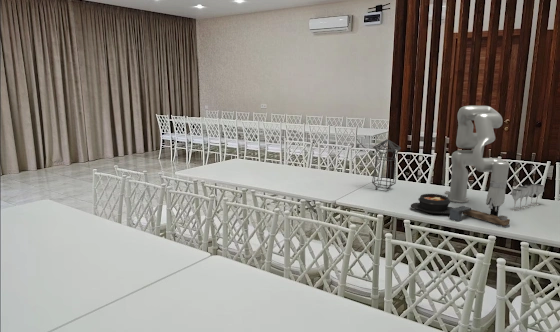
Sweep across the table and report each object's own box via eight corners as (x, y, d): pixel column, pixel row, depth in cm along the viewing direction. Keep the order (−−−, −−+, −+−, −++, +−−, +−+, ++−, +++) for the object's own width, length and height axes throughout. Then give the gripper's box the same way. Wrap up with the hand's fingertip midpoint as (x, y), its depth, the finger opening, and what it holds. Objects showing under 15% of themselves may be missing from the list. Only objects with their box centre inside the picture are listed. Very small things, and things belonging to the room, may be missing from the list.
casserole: (407, 212, 225) (408, 197, 224) (414, 203, 241) (415, 190, 239) (454, 219, 213) (456, 204, 211) (458, 210, 229) (460, 196, 227)
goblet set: (516, 211, 227) (519, 189, 224) (506, 209, 232) (509, 187, 229) (543, 204, 240) (546, 183, 237) (534, 202, 245) (536, 181, 242)
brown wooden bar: (509, 223, 204) (510, 217, 203) (504, 225, 201) (505, 218, 200) (467, 212, 222) (468, 206, 221) (462, 214, 219) (463, 207, 219)
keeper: (449, 218, 214) (450, 209, 212) (462, 215, 220) (463, 205, 219) (457, 221, 209) (458, 211, 208) (470, 217, 216) (471, 208, 214)
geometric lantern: (376, 185, 285) (380, 137, 278) (398, 189, 276) (403, 139, 269) (368, 189, 273) (371, 139, 266) (390, 193, 264) (394, 141, 257)
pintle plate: (491, 224, 205) (491, 223, 205) (499, 221, 209) (499, 221, 209) (505, 228, 200) (505, 227, 199) (512, 225, 203) (512, 225, 203)
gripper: (498, 180, 215) (494, 213, 219) (483, 184, 207) (479, 218, 211) (512, 184, 209) (508, 217, 213) (497, 188, 201) (493, 222, 205)
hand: (493, 217), depth 212 cm, fingers closed
